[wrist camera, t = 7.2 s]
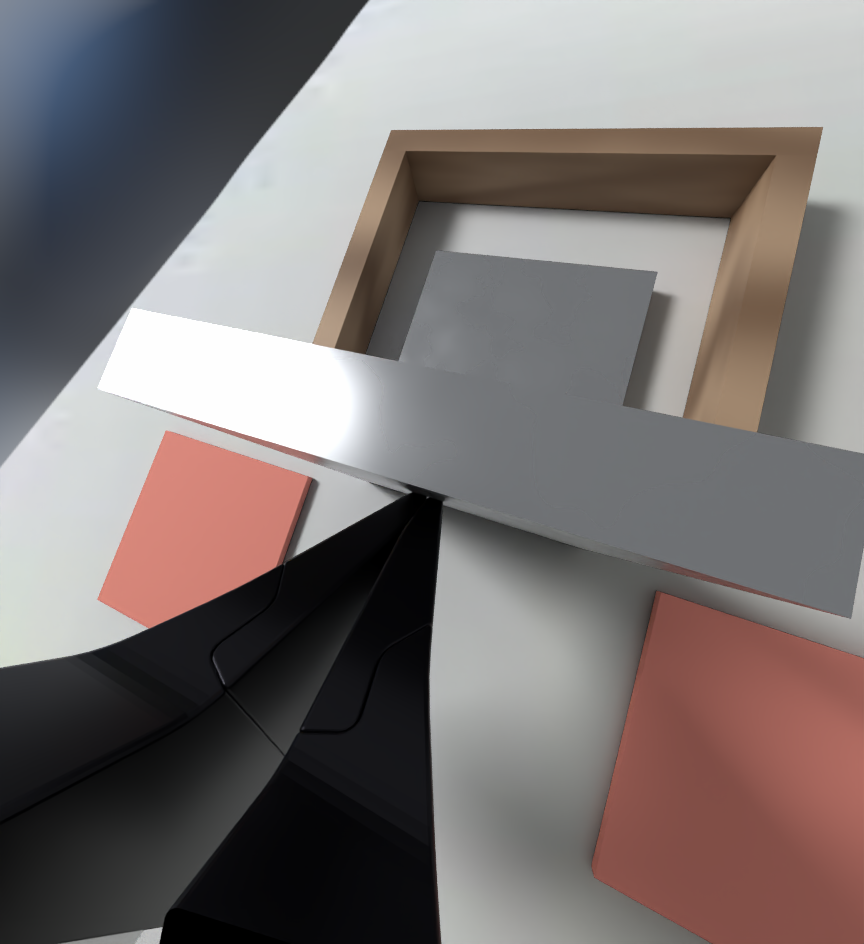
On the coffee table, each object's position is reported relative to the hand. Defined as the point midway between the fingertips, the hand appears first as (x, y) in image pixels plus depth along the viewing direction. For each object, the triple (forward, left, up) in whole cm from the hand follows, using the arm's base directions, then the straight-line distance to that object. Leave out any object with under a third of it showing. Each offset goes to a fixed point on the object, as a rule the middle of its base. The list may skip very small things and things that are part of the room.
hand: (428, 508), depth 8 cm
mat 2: (-10, -10, -7) cm, 16 cm away
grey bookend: (+6, -2, -7) cm, 9 cm away
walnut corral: (+9, -3, -7) cm, 12 cm away
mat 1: (-1, +14, -7) cm, 16 cm away
